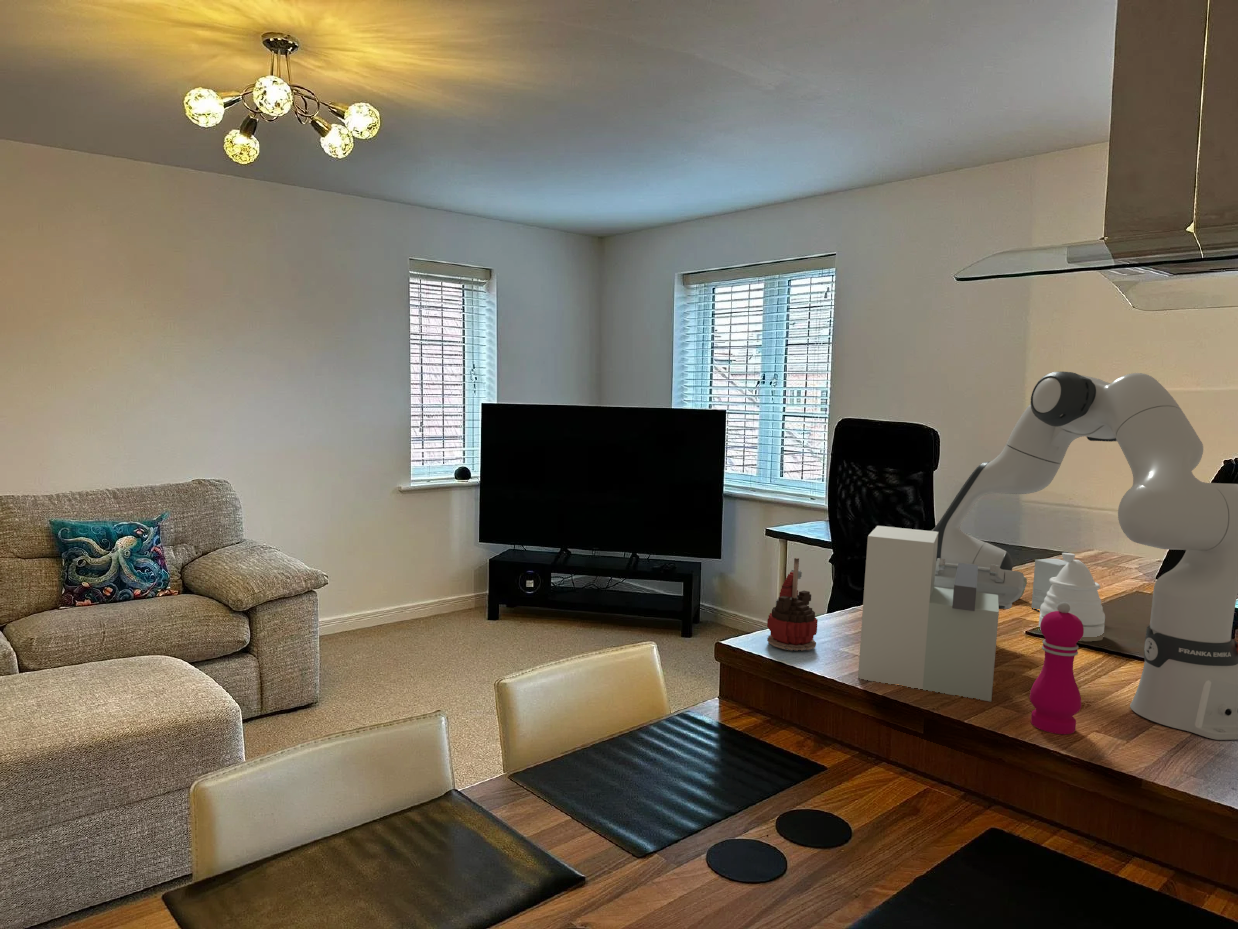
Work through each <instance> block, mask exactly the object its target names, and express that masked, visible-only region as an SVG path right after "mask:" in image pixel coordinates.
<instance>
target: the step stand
mask: <svg viewBox="0 0 1238 929" xmlns="http://www.w3.org/2000/svg"><path fill="white" fill-rule="evenodd" d="M866 543H867V544H866V559H865V573H864V584H863V585H864V587H863V589H864V590H863V601H862V616H861V628H860V630H861V631H860V644H859V655H858V656H859V658H858V659H859V660H858V669H857V670H858V672H857V679H858V678H860V679H859V680H861V679H864V680H863V681H867V680H868V682H873V681H876V682H875V683H879V682H881V683H880V684H885V683H888V684H887V685H891V684H899V685H903V686H907V687H906V688H908V687H911V688H910V689H914V688H918V689H917V690H920V689H923V690H922V691H926V690H928V691H927V692H932V691H935V692H934V693H938V692H940V693H939V694H944V693H945V695H951V696H955V695H959V696H958V697H961V696H963V698H967V697H968V699H973V698H976V699H975V700H979V699H980V701H986V702H992V697H993V687H994V686H993V684H994V675H995V674H994V672H995V662H996V652H997V651H996V649H997V637H998V636H997V635H998V626H999V614H1000V609H999V604H998V595H995V594H987V593H979V592H976V600H975V611H969V610H961V609H954V608H952V605H953V592H954V589H947V588H939V587H934V583H935V570H936V557H937V545H938V532H936V531H932V530H923V529H914V528H913V529H912V528H904V527H903V528H902V527H895V526H885V525H876V526H875V528H873V529H872V531H871V532H870V533H869V534H868V536H867V542H866Z"/></svg>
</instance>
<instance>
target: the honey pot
mask: <svg viewBox="0 0 1238 929" xmlns="http://www.w3.org/2000/svg"><path fill="white" fill-rule="evenodd" d="M1061 556H1062V560H1064V561H1065V562H1069V563H1067V564H1066V565H1065V566H1064V567H1063V568H1062V570H1061V571H1060V572H1059V574H1058V575H1057V577H1052V578H1050V579H1049V581H1050V583H1051V584H1052V586H1051V588H1050V590H1049V591H1048V592H1047V596H1046V597H1045V599H1044V603H1043V604H1042V605H1041V607H1040V609H1041V610H1040V611H1039V617H1038V627H1040V625H1041V621H1042V619H1043V617H1044V616H1045V615H1046V614H1048V613H1050V612H1054V611H1058V609H1057V606H1058V604H1059V603H1061V602H1066V603H1068V604H1069V606H1070V611H1069V612H1068V613H1071V614H1073V615H1075V616H1077V617H1078V618H1079V619H1080V620H1081V622H1082V624H1083V628H1084V633H1083V636H1082V637H1097V636H1100V635H1102V634H1103V633H1105V622H1106V621H1105V619H1106V614H1105V612H1104V610H1103V609H1104V608H1103V605H1102V598H1101V597H1100V595H1099V591H1098V590H1099V589H1101V585H1100V583H1098V582H1096V581H1095V580H1094V577H1093V575H1092V573H1091V571H1090V569H1089V567H1088V566H1087V565H1086V564H1085V562H1082V561H1081V560H1080V559H1075V558H1076V554H1075V553H1071V552H1061Z"/></svg>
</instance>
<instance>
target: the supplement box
mask: <svg viewBox="0 0 1238 929" xmlns="http://www.w3.org/2000/svg"><path fill="white" fill-rule="evenodd" d="M1067 563H1069V562H1065V561H1064V559H1060V558H1041V559H1034V572H1033V583H1032V584H1033V585H1032V594H1031V608H1035V609H1040V607H1041V605H1042V604H1043V603H1044V599H1045V597H1046V596H1047V592H1048V591H1049V590H1050V588H1051V586H1052V584H1051V583H1050V581H1049V579H1050V578H1052V577H1057V575H1058V574H1059V572H1060V571H1061V570H1062V568H1063V567H1064V566H1065V565H1066V564H1067ZM1040 610H1041V609H1040Z"/></svg>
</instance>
